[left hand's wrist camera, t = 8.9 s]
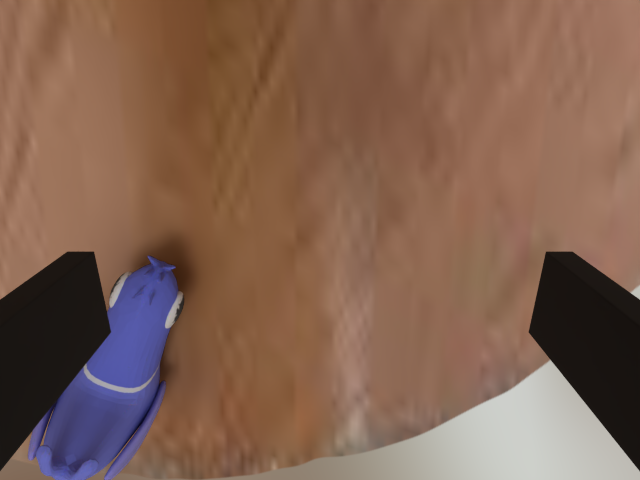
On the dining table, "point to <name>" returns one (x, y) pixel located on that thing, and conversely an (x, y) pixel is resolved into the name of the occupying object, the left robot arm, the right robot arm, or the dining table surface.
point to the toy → (113, 382)
